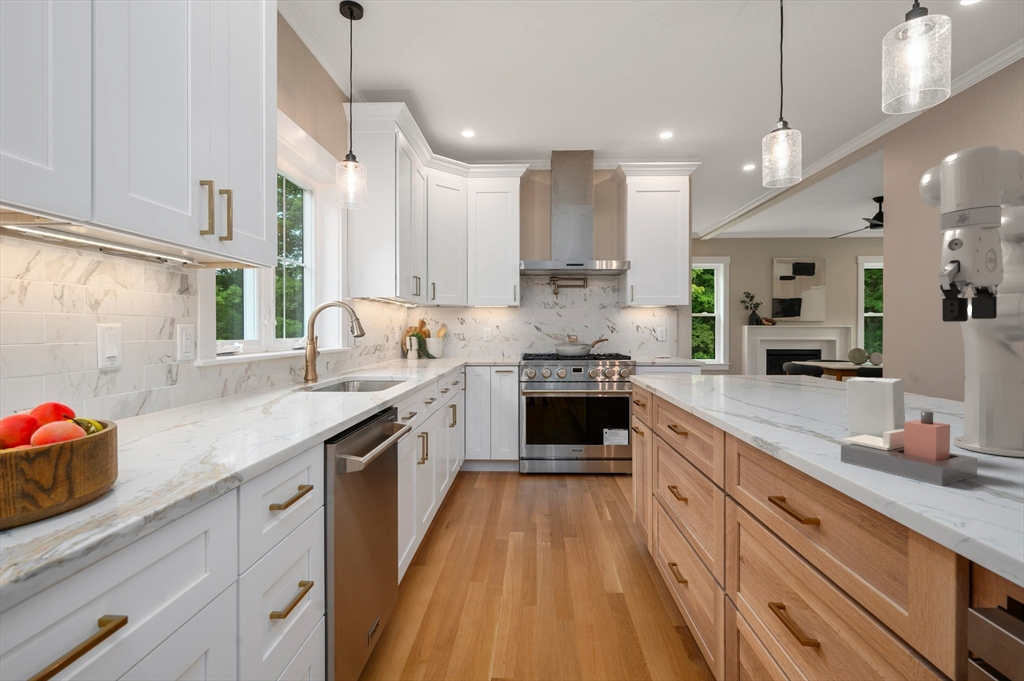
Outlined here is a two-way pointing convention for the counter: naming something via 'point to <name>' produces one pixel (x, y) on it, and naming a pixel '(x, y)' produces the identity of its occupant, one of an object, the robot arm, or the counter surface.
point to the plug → (927, 438)
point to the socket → (911, 464)
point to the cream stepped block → (880, 440)
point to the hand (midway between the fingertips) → (969, 320)
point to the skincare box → (874, 406)
